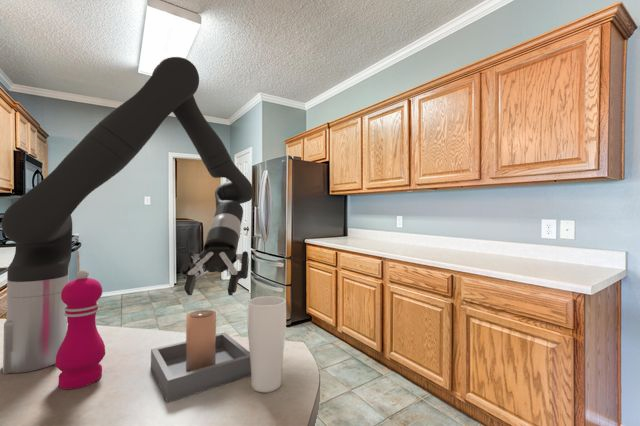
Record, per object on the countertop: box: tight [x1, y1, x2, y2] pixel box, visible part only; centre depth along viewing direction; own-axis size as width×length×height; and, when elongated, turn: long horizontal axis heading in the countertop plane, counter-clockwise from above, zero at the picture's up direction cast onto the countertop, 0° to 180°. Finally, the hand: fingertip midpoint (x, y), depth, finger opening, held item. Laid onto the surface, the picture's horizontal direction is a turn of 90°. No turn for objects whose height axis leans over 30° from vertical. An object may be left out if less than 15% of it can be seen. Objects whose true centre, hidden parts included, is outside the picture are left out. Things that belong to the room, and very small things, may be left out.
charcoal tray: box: [150, 332, 251, 403], centre depth 60 cm, size 15×15×4 cm
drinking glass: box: [247, 295, 287, 393], centre depth 55 cm, size 7×7×15 cm
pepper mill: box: [54, 269, 106, 390], centre depth 57 cm, size 7×7×20 cm
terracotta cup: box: [185, 309, 217, 372], centre depth 61 cm, size 5×5×10 cm
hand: (209, 293), depth 65 cm, fingers open, 8 cm apart
